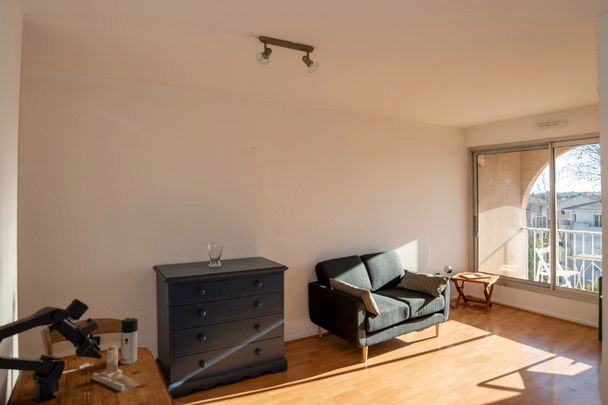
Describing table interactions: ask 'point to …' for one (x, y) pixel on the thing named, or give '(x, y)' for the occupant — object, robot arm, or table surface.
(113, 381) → the board
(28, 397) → the table surface
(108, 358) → the white tall rounded post
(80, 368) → the pliers
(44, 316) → the robot arm
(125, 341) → the spray can
